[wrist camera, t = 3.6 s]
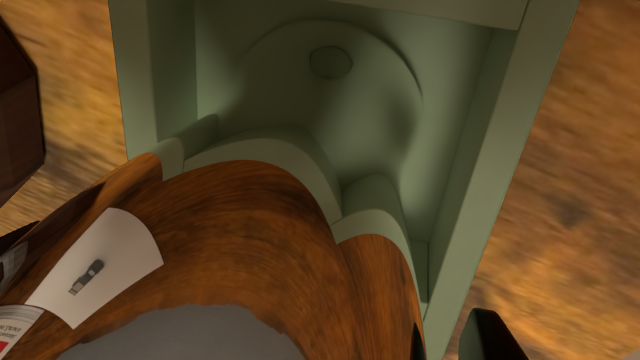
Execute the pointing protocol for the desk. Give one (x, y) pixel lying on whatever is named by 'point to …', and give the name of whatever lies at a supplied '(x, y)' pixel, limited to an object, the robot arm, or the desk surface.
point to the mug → (17, 121)
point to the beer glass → (242, 224)
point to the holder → (432, 80)
